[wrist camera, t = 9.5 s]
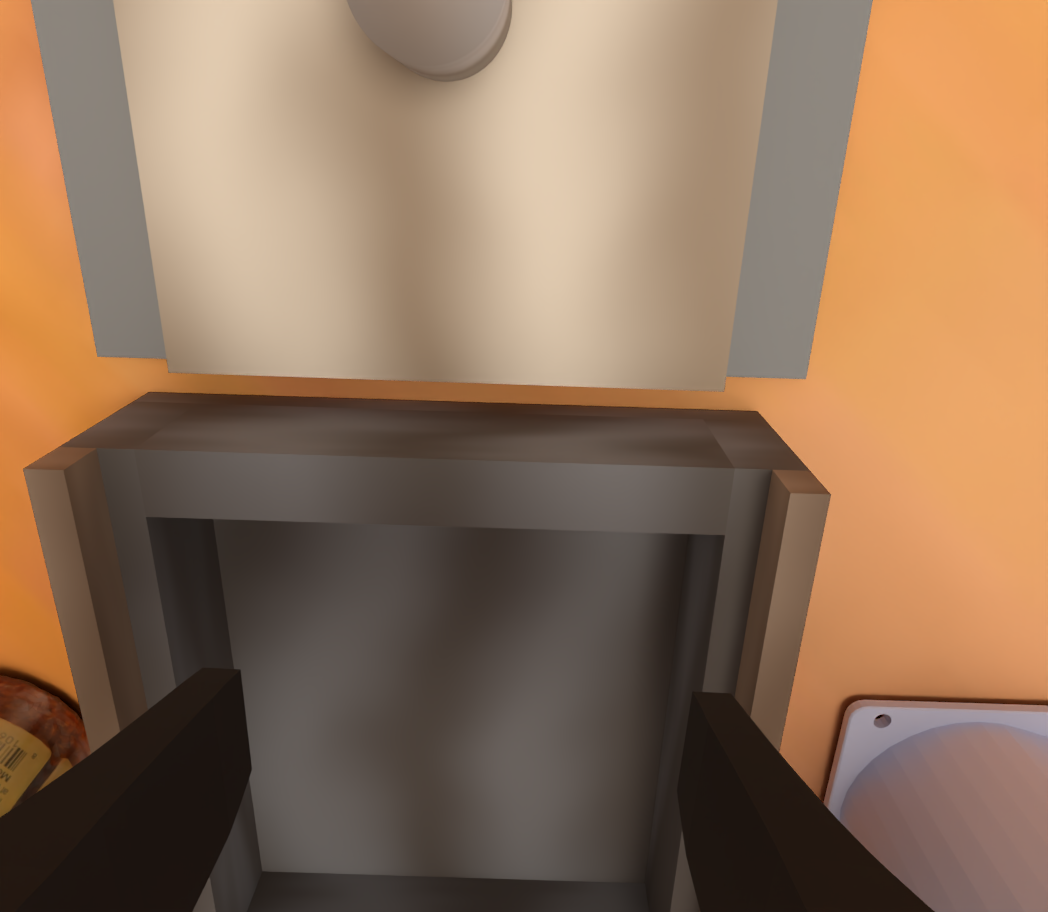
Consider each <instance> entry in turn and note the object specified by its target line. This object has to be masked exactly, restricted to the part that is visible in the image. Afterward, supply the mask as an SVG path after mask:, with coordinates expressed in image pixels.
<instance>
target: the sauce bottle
mask: <svg viewBox="0 0 1048 912" xmlns="http://www.w3.org/2000/svg"><path fill="white" fill-rule="evenodd" d="M90 754H91V751H90V747H89V743H88V739H87V735H86V730H85V726H84V723H83V721H82V720H81V719H80V718H79V716H78V714H77V713H76V712H75V711H74V710H72V709H71V708H69V707H68V705H66V704H65V703H64V702H62V701H61V700H60V698H59V697H57V696H54V695H51V694H50V693H49V692H47V691H44V690H41V689H40V688H38V687H37V686H35V685H34V684H32V683H30V682H27V681H24V680H20V679H15V678H10V677H8V676H0V817H1V816H3V815H4V814H6V813H8V812H9V811H11V810H12V809H14V808H15V807H17V806H18V805H20V804H21V803H23V802H24V801H26V800H27V799H28V798H30V797H31V796H33V795H34V794H35V793H37V792H38V791H40V790H41V789H42V788H44V787H45V786H47V785H48V784H49V783H51V782H52V781H54V780H55V779H57V778H58V777H59V776H61V775H62V774H64V773H65V772H66V771H68V770H69V769H71V768H72V767H73V766H75V765H76V764H78V763H79V762H81V761H82V760H83V759H85V758H86V757H88V756H89V755H90Z"/></svg>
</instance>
